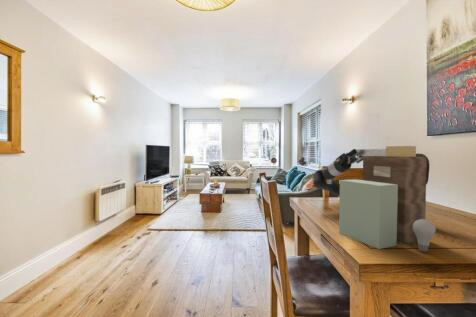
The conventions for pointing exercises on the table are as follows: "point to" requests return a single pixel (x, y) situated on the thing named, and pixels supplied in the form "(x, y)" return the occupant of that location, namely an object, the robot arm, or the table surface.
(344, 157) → the robot arm
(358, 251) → the table surface
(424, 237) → the lightbulb
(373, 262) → the table surface
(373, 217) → the sage green carton
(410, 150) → the shaft
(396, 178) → the parts stand
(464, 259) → the table surface
